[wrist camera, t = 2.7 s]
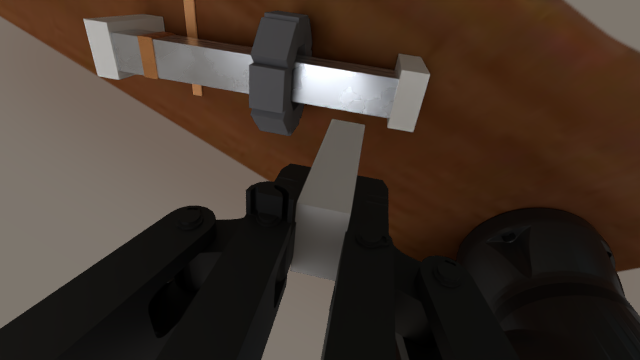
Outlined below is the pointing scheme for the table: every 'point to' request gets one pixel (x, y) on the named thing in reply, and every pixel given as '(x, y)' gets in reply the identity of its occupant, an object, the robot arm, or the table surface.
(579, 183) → the table surface
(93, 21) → the stand
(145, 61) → the light grey bar
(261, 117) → the ring
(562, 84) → the table surface
